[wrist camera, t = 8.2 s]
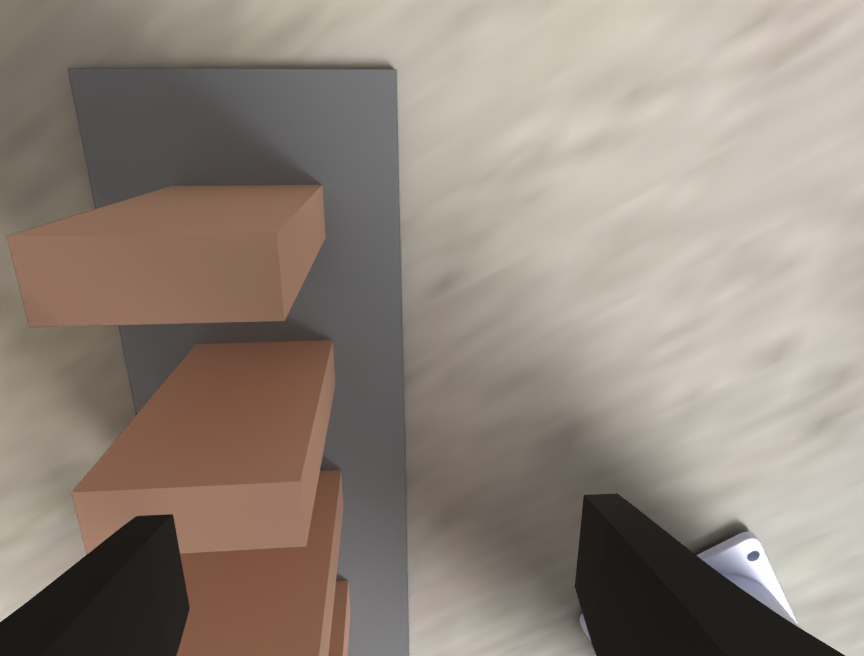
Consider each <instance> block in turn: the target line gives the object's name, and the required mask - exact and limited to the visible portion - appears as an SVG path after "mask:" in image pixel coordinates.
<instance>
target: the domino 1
mask: <svg viewBox="0 0 864 656" xmlns="http://www.w3.org/2000/svg"><path fill="white" fill-rule="evenodd" d="M325 238H326V233H325V217H324V201H323V185H224V186H170V187H167V188H163V189H160V190H157V191H154V192H150V193H147V194H144V195H141V196H137V197H134V198H131V199H127V200H124V201H121V202H118V203H114V204H111V205H108V206H104V207H101V208H98V209H95V210H91V211H88V212H85V213H81V214H78V215H75V216H72V217H68V218H65V219H62V220H58V221H55V222H52V223H49V224H45V225H42V226H39V227H35V228H32V229H29V230H26V231H22V232H19V233H16V234H12V235H9V236H7V240H8V244H9V248H10V252H11V256H12V260H13V264H14V268H15V272H16V276H17V280H18V284H19V288H20V292H21V296H22V300H23V304H24V308H25V312H26V316H27V320H28V324H29V327H58V326H99V325H139V324H180V323H220V322H261V321H285V319H286V317H287V315H288V313H289V311H290V309H291V307H292V305H293V303H294V301H295V299H296V297H297V295H298V293H299V291H300V289H301V287H302V285H303V283H304V281H305V279H306V277H307V275H308V273H309V270H310V268H311V266H312V264H313V262H314V260H315V258H316V256H317V254H318V252H319V250H320V248H321V246H322V244H323V242H324V240H325Z"/></svg>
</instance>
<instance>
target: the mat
mask: <svg viewBox="0 0 864 656" xmlns="http://www.w3.org/2000/svg"><path fill="white" fill-rule="evenodd" d="M68 71H69V76H70V81H71V86H72V92H73V97H74V102H75V107H76V112H77V117H78V122H79V127H80V132H81V137H82V142H83V147H84V152H85V158H86V163H87V168H88V173H89V178H90V183H91V188H92V193H93V198H94V203H95V208H96V209H98V208H101V207H104V206H108V205H111V204H114V203H118V202H121V201H124V200H127V199H131V198H134V197H137V196H141V195H144V194H147V193H150V192H154V191H157V190H160V189H163V188H167V187H170V186H224V185H323V201H324V217H325V233H326V238H325V240H324V242H323V244H322V246H321V248H320V250H319V252H318V254H317V256H316V258H315V260H314V262H313V264H312V266H311V268H310V270H309V273H308V275H307V277H306V279H305V281H304V283H303V285H302V287H301V289H300V291H299V293H298V295H297V297H296V299H295V301H294V303H293V305H292V307H291V309H290V311H289V313H288V315H287V317H286V319H285V321H261V322H220V323H180V324H139V325H119V330H120V335H121V340H122V345H123V350H124V355H125V361H126V366H127V371H128V376H129V381H130V386H131V391H132V396H133V401H134V406H135V411H136V415H137V414H138V413H139V412H140V410H141V409H142V408H143V407H144V406H145V404H146V403H147V402H148V401H149V400H150V398H151V397H152V396H153V395H154V394H155V393H156V391H157V390H158V389H159V388H160V387H161V385H162V384H163V383H164V382H165V381H166V379H167V378H168V377H169V376H170V375H171V373H172V372H173V371H174V370H175V369H176V368H177V366H178V365H179V364H180V363H181V362H182V360H183V359H184V358H185V357H186V356H187V354H188V353H189V352H190V351H191V350H192V348H193V347H194V346H195V345H196V344H219V343H252V342H284V341H316V340H333V352H334V368H335V383H336V384H335V390H334V395H333V401H332V406H331V412H330V418H329V423H328V429H327V434H326V440H325V445H324V451H323V456H322V462H321V467H320V471H327V470H341V475H342V490H343V506H344V508H343V518H342V527H341V537H340V547H339V557H338V567H337V576H336V581H344V580H348V582H349V598H350V626H349V641H348V656H409V624H408V578H407V532H406V486H405V440H404V394H403V348H402V302H401V256H400V210H399V164H398V118H397V72H396V69H138V68H68Z"/></svg>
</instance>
